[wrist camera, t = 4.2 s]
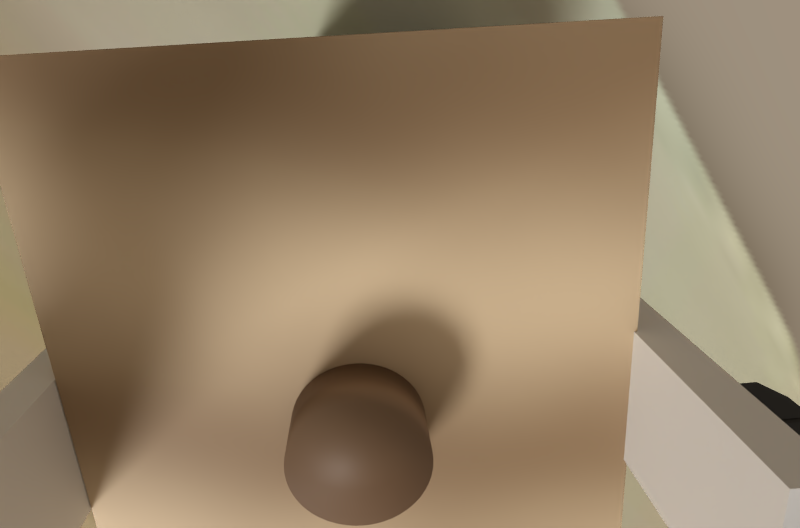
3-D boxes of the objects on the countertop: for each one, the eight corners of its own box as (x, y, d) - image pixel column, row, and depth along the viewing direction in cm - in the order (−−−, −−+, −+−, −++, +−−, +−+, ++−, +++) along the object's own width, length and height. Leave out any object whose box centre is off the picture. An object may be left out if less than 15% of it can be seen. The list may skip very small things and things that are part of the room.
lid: (10, 56, 10) (-97, 58, 7) (628, 20, 10) (708, 11, 8) (164, 652, 14) (127, 768, 12) (590, 607, 14) (634, 712, 12)
